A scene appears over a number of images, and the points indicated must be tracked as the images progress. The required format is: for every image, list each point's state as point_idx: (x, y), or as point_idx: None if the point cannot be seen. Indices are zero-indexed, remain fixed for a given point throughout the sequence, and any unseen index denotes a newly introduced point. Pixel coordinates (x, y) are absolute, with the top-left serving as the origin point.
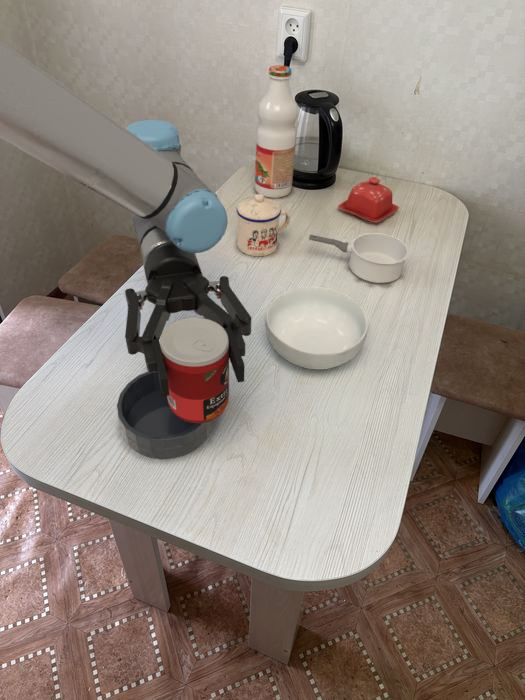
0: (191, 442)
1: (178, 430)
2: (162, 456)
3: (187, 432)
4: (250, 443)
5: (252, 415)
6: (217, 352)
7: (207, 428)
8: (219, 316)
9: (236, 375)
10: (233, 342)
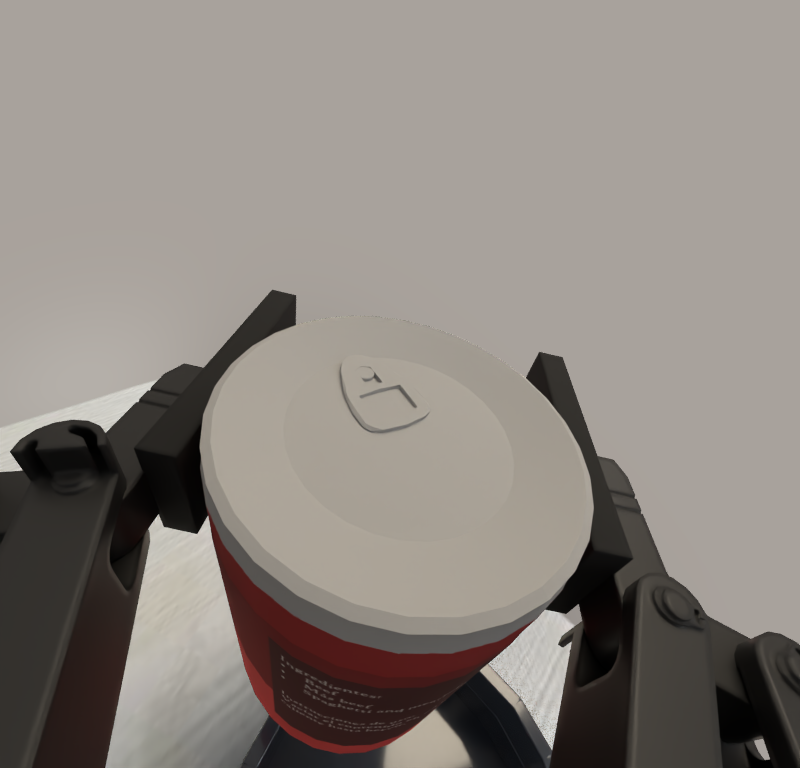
0: None
1: (374, 760)
2: None
3: None
4: (224, 616)
5: (140, 720)
6: (339, 327)
7: None
8: (76, 605)
9: None
10: (223, 364)
